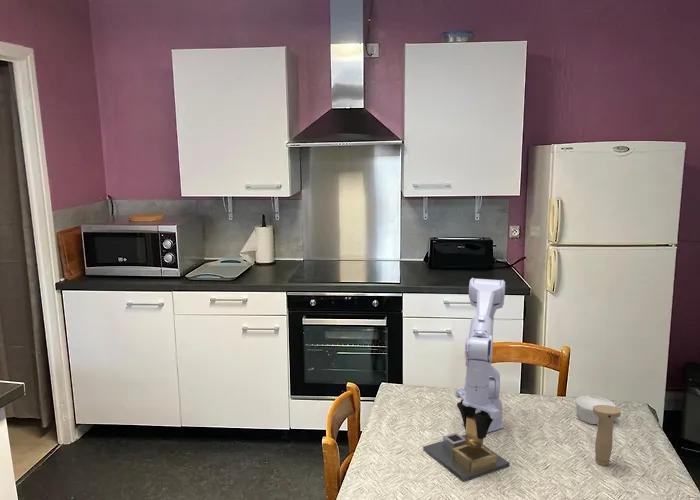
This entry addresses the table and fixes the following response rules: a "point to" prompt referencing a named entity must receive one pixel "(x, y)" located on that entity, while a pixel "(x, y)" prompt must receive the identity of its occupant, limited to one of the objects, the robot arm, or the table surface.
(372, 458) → the table surface
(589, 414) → the ramekin
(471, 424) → the cylindrical peg
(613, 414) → the handle
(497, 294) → the robot arm
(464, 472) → the fitting plate
